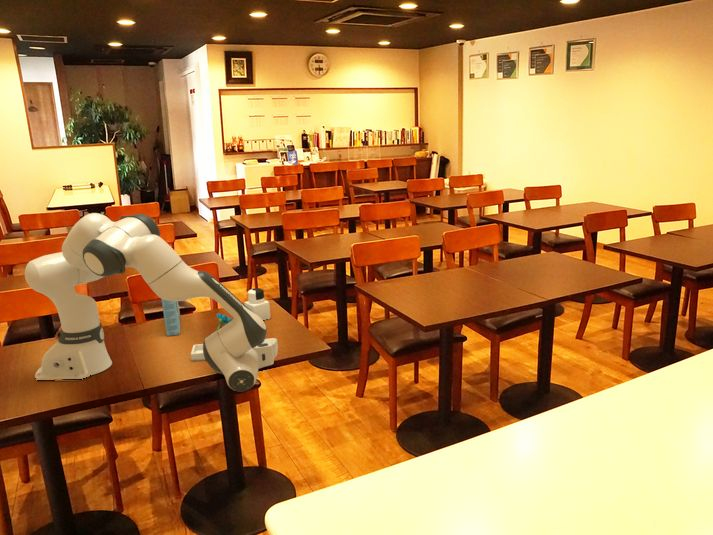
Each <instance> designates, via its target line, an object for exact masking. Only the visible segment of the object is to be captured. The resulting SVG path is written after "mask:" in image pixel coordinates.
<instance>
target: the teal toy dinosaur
mask: <svg viewBox="0 0 713 535" xmlns="http://www.w3.org/2000/svg"><path fill="white" fill-rule="evenodd" d="M216 317H217V318H218V321H219V322H218V323H219V325H218V326H217V328H216V330H217V329H220V328H222V326H225V325H226V324H227V323H229V322H230V321H232V320H233V319H232V318H231V317H227V316H226V315H225V314H221V313H216Z"/></svg>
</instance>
